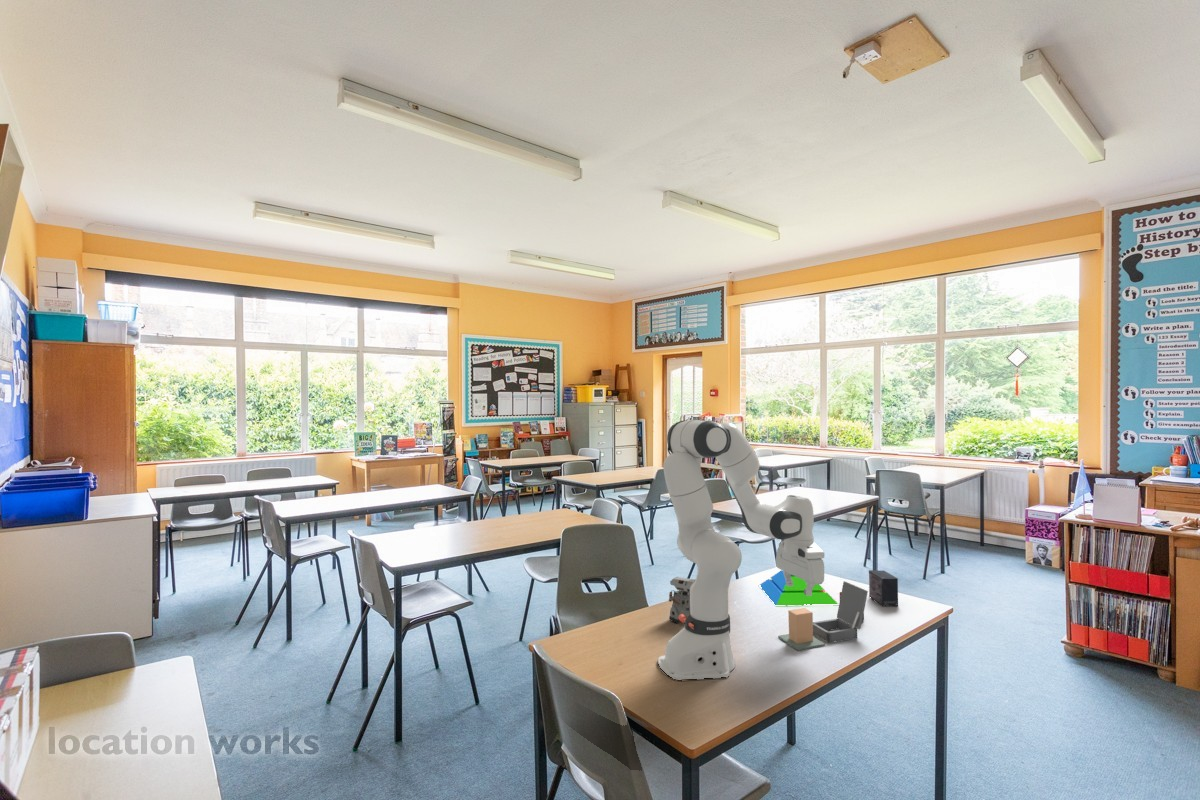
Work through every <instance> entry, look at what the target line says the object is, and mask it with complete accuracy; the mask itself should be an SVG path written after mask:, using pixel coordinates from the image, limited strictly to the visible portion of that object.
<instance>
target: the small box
mask: <svg viewBox="0 0 1200 800" xmlns="http://www.w3.org/2000/svg"><path fill="white" fill-rule="evenodd" d="M868 579H869V580H868V585H869V586H868V593H869V594H868V597H869V598H870V597H871V598H872V600H873V601H874V600H875V601H876V602H875V601H874V602H875V603H876V604H878V605H880V606H881V607H899V585H898V584H899V578H898V577H896V576H894V575H893V574H891V573H890V572H888V571H885V570H876V569H875V570H872V569H870V570H868ZM871 598H870V599H871Z"/></svg>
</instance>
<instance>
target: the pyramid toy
mask: <svg viewBox="0 0 1200 800" xmlns="http://www.w3.org/2000/svg"><path fill="white" fill-rule="evenodd" d="M783 572H784V571H783V570H781V569H780V570H779V571H778V572H777V573H775V574H774V575H772V576H770V578H768V579H766V580H765V581H763V582H761V583H760V584H759V585H761V587H762V589H763V590H764V591H765V593H766V594H767V595H768V596H769V598H770V599H771V600H772V601H773V602H774V604H775V605H804V604H806V605H807V604H810V605H812V604H839V603H838V602H837V601H836V599H834V598H833V597H832V596H831V595H830V594H829V593H828V592H827V591H826V590H825V589H824V587H822V585H821V584H818V585H815V586H814V587H813V589H812V595H811V596H807V595H805V594H804V589H806V587H807V585H806V581H804V580H802V579H800V578H798V577H796V576H794V575H792V574H790V575H791V579H792V580H793V586H790V587H789V586H787V585H786V579H785V577H784V574H783ZM762 589H761V590H762ZM765 593H764V594H765ZM766 594H765V595H766ZM767 595H766V596H767ZM769 598H768V599H769ZM770 599H769V600H770ZM771 600H770V601H771ZM772 601H771V602H772ZM774 604H773V605H774ZM775 605H774V606H775Z"/></svg>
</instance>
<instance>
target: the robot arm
mask: <svg viewBox="0 0 1200 800" xmlns="http://www.w3.org/2000/svg"><path fill="white" fill-rule="evenodd" d="M666 437H667V438H666V442H667V452H668V454H669V455H668V456H667V457H665V459H664V461H663V464H662V466H663V467H662V468H663V474H664V480H665V485H666V488H667V491H668V494H669V497H670V500H671V503H672V507H673V509H674V512H675V516H676V519H677V527H678V535H677V538H676V545H677V549H678V550H679V551H680V553H681V554H682V555H683V557H685V558H686V560H688V561H690V562H692V563H694V564H696V568H697V573H696V577H695V579H696V580H695V579H694V580H695V582H694V583H693V584H692V585H691V587H690V613H689V615H688V617H686V616H684V615H683V614H680V615H679V620H680V623H682V624H684V626H683V628H681V629H680V630H679V632H677V633H676V634H675V635H674V636H672V638H670V639H669V640H668V641H667V642H666V643H667V644H666V646H665V652H664V653H665V654H664V655H661V656H659V657H658V659H657V665H658V664H659V666H660V667H659V666H658V667H659V669H660V668H661V669H662V670H663V671H664V672H665V673H666V674H667V675H669V676H670V677H672V678H674V679H678V680H681V679H697V680H705V679H704V678H713V679H722V678H721V677H726V678H728V676H729V677H730V673H731V672H732V671H733V669H734V668H735V667H736V662H735V658H734V654H733V650H732V645H731V643H732V642H731V638H730V637H731V635H730V634H731V617H730V616H731V615H730V613H729V589H730V584H731V579H732V576H733V574H734V573H736V572H737V570H738V569H739V568H740V566H741V563H742V560H743V557H742V550H741V549H740V546H738V545H737V543H735V542H734V541H733V539H731V538H730V537H728V536H727V535H724V534H722V533H719V532H716V531H715V529H714V527H713V524H712V517H711V516H712V513H713V511H714V504H713V501H712V499H711V495H710V492H709V489H708V487H707V486H708V485H707V483H706V480H705V477H704V475H703V473H702V467H701V464H702V463H701V462H702V459H703V458H705V459H714V458H715V459H716V461H717V462H718V464H719V466H720V468H721V470H722V471H723V472H724V475H725V478H726V482H727V484H728V486H729V488H730V490H731V492H732V494H733V496H734V498H735V500H736V502H737V505H738V506H739V509H740V511H741V517H742V522H743V525H744V526H745V528H746V530H748V531H749V532H751V533H752V534H759V535H763V536H766V537H768V538H772V539H775V540H781V541H780V542H779V543H778V548H777V550H776V554H775V555H776V557H775V565H776V567H777V569H778V570H780V571H781V570H783V571H784V572H783V574H784V577H785V579H786V585H787V586H789V587H790V586H793V580H792V579H791V575H790V574H792V575H794V576H796V577H798V578H800V579H802V580H804V581H806V585H807V587H806V589H804V594H805V595H807V596H811V595H812V589H813V587H814V586H815V585H818V584H819V585H822V584H823V583H824V582H825V563H824V560H823V559H824V558H825V551H824V550H823V549H821V547H820V546H818V545H817V544H816V543H815V542H814V534H813V529H814V523H815V521H814V520H815V517H814V515H815V514H814V507H813V504H812V501H811V500H810V499H809V498H807V497H803V496H798V495H792V494H790V495H787V496H786V498H785V499H784V500H783V501H782V502H781V503H779V504H777V505H774V506H773V505H768V504H767V503H764V502H762V501H760V499H758V498H757V495H756V493H755V492H754V489H753V487H752V486H751V483H750V481H751V480H753V479H754V478H755V477H756V476H757V474H758V473H759V470H760V466H761V463H760V460H759V457H758V455H757V454H756V452H755V450H754V448H753V447H752V445H751V443H750V442H749V440H748V439H747V438H746V436H745V435H744V433H742V431H741V430H740V429H739V428H738V427H737V426H736V425H735V424H734V423H731V422H721V423H718V422H716V421H713V420H700V419H688V420H680V421H677V422H676V423H673V424H672V425H671V426H670V427H669V429H668V431H667V435H666ZM661 669H660V670H661ZM662 670H661V671H662ZM663 671H662V672H663ZM664 672H663V673H664ZM665 673H664V674H665ZM666 674H665V675H666ZM667 675H666V676H667ZM670 677H669V678H670ZM672 678H671V679H672ZM674 679H673V680H674Z"/></svg>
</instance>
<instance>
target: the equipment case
mask: <svg viewBox="0 0 1200 800" xmlns="http://www.w3.org/2000/svg"><path fill="white" fill-rule="evenodd" d="M840 592H841V598H840V597H839V603H838V604H839V605H838V609H837V613H836V618H831V619H825V620H819V621H813V635H815V636H816V637H818V638H820V639H822V640H824V642H826V641H827V643H835V642H834V641H837V642H841V640H843V641H847V640H848V639H849V640H853V639H858V630H859V631H860V630H861V629H862V624H863V620H862V619H863V614H864V615H865V609H866V602H867V598H868V593H869V590H867V589H865V588H862V587H860V586H857V585H855V584H852V583H850V582H847V581H844V580H843V583H842V588H841V591H840ZM831 629H834V630H831ZM827 630H828V631H827Z"/></svg>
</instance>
